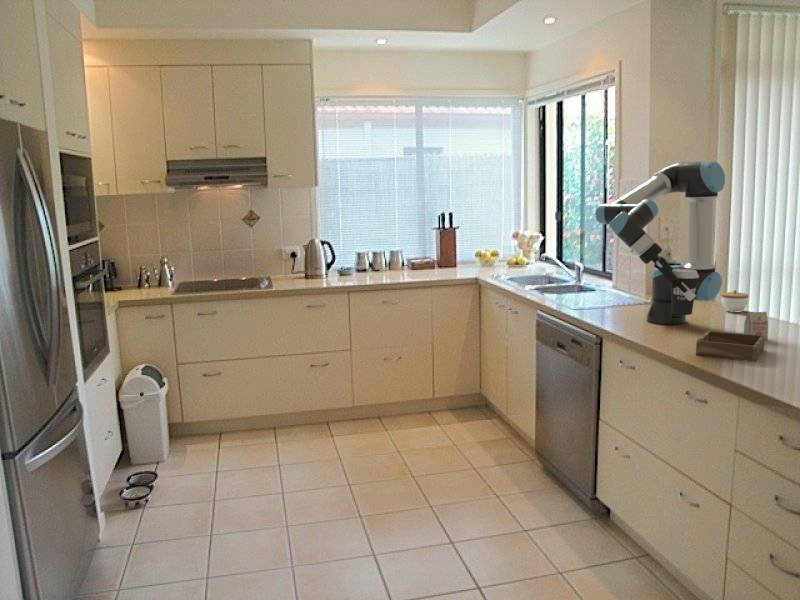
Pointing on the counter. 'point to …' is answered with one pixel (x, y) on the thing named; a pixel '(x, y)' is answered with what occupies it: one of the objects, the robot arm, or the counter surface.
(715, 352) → the walnut crate
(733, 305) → the lidded jar
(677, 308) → the coffee cup
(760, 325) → the small food carton
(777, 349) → the counter surface
